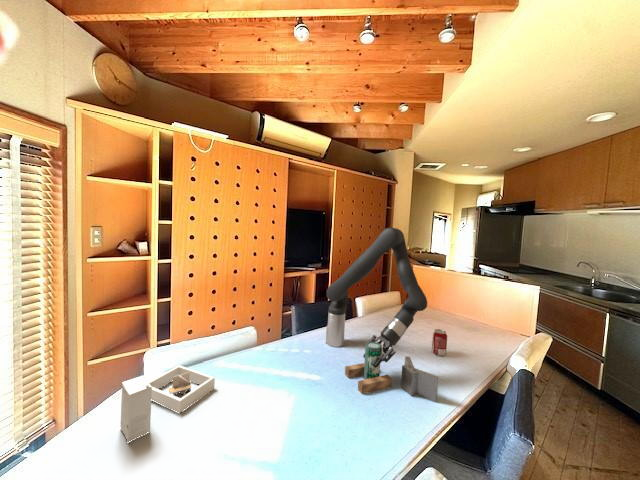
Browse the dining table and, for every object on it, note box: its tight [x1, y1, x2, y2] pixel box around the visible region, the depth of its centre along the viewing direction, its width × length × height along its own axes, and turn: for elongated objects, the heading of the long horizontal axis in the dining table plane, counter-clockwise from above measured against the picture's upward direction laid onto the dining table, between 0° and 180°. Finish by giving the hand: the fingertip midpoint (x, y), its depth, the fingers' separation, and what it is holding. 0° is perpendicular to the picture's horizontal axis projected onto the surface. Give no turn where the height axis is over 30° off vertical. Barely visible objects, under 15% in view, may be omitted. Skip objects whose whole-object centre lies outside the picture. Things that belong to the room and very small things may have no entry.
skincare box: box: [119, 375, 152, 443], centre depth 78 cm, size 8×6×15 cm
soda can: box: [431, 328, 448, 357], centre depth 135 cm, size 7×7×12 cm
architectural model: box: [168, 372, 192, 395], centre depth 95 cm, size 3×7×7 cm, turn 127°
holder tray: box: [148, 364, 216, 413], centre depth 97 cm, size 19×15×4 cm
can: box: [363, 341, 381, 380], centre depth 110 cm, size 6×6×15 cm
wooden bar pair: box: [344, 362, 393, 395], centre depth 109 cm, size 14×14×4 cm
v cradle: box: [400, 355, 439, 403], centre depth 104 cm, size 8×18×9 cm, turn 22°
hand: (369, 362), depth 109 cm, fingers closed on can, 6 cm apart
